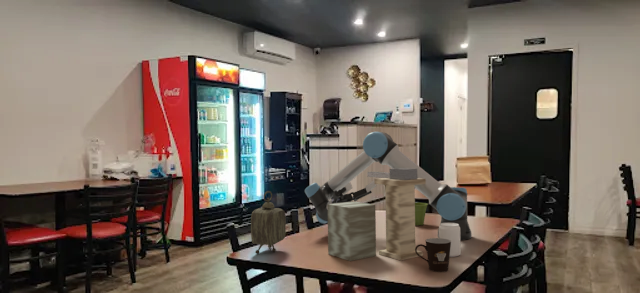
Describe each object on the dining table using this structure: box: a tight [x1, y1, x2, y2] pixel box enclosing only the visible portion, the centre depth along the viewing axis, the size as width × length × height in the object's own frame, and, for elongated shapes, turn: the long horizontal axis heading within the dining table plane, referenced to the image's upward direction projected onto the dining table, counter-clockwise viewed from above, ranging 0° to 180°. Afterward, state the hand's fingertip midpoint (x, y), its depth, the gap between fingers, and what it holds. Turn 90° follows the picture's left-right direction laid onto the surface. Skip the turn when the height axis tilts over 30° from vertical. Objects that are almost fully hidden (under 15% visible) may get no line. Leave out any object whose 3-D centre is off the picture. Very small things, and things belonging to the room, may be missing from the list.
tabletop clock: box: [250, 190, 287, 255], centre depth 186 cm, size 14×9×25 cm, turn 159°
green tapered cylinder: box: [415, 202, 429, 226], centre depth 243 cm, size 12×12×11 cm
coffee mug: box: [415, 237, 451, 273], centre depth 157 cm, size 12×9×10 cm
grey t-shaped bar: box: [366, 168, 417, 180], centre depth 182 cm, size 24×7×4 cm, turn 35°
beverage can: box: [438, 222, 462, 258], centre depth 176 cm, size 8×8×12 cm
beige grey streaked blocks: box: [327, 177, 426, 262], centre depth 178 cm, size 26×28×30 cm
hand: (363, 184), depth 195 cm, fingers open, 13 cm apart
